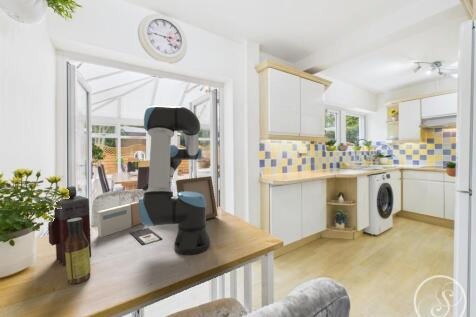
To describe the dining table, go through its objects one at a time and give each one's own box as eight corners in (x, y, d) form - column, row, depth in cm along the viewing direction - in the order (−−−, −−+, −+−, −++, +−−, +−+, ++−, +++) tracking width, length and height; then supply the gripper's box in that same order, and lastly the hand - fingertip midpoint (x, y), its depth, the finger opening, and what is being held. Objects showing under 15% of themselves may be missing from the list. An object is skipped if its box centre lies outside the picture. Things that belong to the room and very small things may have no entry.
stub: (132, 226, 119) (132, 204, 118) (129, 225, 121) (128, 203, 120) (145, 221, 126) (144, 201, 125) (142, 220, 127) (141, 200, 127)
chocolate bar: (148, 227, 115) (162, 238, 102) (148, 229, 115) (162, 240, 102) (129, 232, 109) (142, 244, 96) (130, 234, 109) (142, 246, 96)
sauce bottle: (95, 273, 74) (92, 215, 73) (82, 284, 68) (80, 222, 67) (75, 273, 74) (72, 216, 73) (61, 285, 68) (58, 222, 67)
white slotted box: (101, 237, 105) (100, 212, 104) (98, 235, 106) (97, 211, 106) (132, 226, 119) (131, 204, 118) (128, 225, 120) (128, 204, 120)
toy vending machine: (48, 261, 83) (44, 187, 81) (83, 250, 92) (80, 183, 90) (55, 269, 77) (51, 190, 76) (91, 256, 86) (88, 186, 85)
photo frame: (217, 217, 133) (216, 176, 132) (185, 226, 118) (184, 180, 117) (204, 212, 144) (203, 174, 143) (173, 220, 129) (171, 178, 128)
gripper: (183, 178, 137) (165, 208, 125) (156, 176, 150) (137, 202, 138) (176, 171, 132) (157, 201, 120) (149, 169, 145) (129, 196, 133)
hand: (146, 202), depth 129 cm, fingers open, 13 cm apart
